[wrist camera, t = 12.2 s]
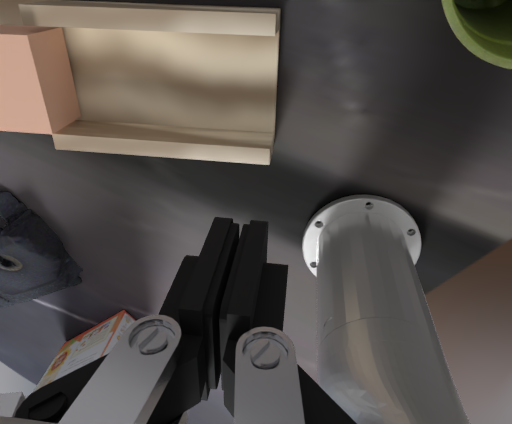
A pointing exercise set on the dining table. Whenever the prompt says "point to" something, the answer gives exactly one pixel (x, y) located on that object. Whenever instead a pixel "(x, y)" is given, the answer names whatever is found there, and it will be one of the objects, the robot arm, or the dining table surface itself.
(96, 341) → the cracker box
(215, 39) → the chute
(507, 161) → the dining table surface
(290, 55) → the dining table surface
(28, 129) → the block
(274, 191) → the dining table surface
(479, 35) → the plant pot
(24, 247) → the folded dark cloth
